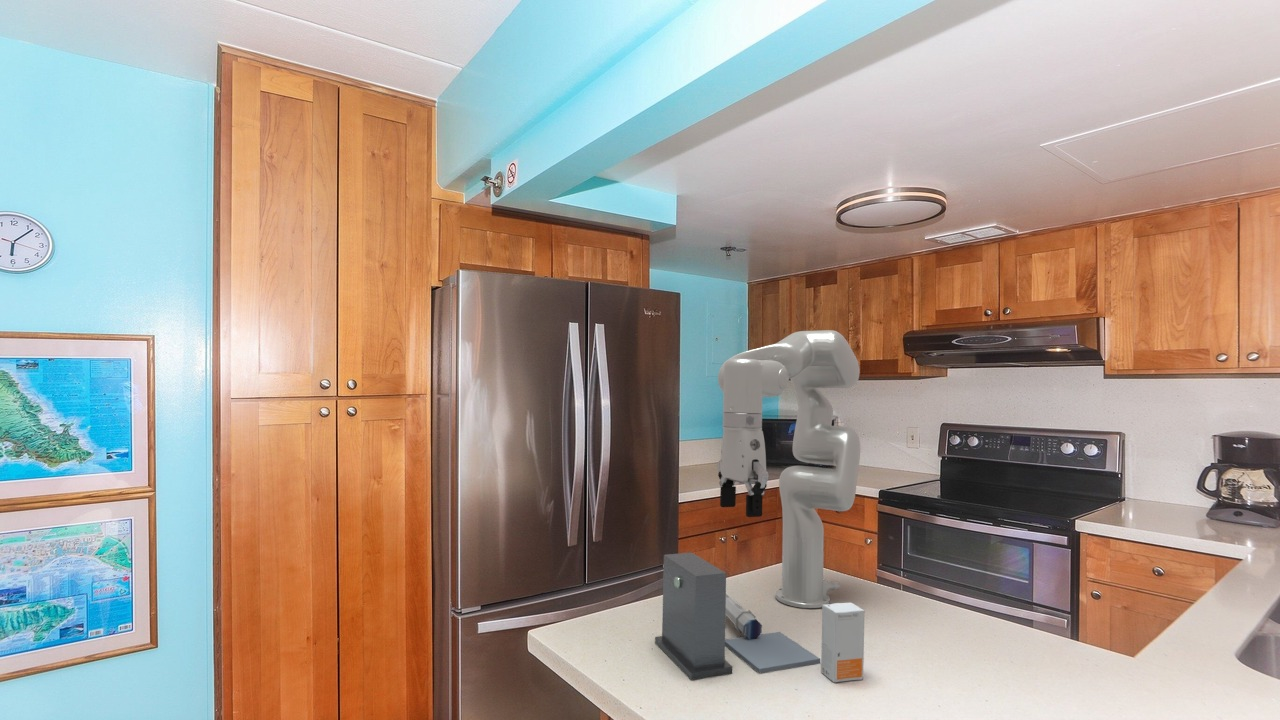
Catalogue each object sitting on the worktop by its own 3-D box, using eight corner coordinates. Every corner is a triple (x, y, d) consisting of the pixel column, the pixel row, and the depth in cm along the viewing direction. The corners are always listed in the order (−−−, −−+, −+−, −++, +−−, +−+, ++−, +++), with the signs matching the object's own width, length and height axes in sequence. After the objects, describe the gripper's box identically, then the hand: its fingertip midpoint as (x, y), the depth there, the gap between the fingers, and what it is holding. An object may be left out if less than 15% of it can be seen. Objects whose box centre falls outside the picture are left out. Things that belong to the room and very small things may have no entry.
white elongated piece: (742, 620, 119) (692, 570, 143) (740, 653, 120) (690, 597, 143) (766, 617, 121) (712, 568, 145) (763, 650, 121) (711, 595, 145)
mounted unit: (692, 637, 122) (693, 550, 123) (732, 673, 107) (734, 574, 108) (655, 643, 119) (657, 553, 120) (691, 680, 105) (693, 578, 105)
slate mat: (779, 635, 124) (779, 631, 124) (820, 663, 112) (820, 658, 112) (723, 644, 120) (723, 639, 120) (759, 673, 108) (759, 668, 108)
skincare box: (834, 684, 105) (834, 612, 105) (820, 672, 109) (821, 603, 109) (865, 680, 106) (865, 609, 107) (850, 669, 110) (850, 601, 111)
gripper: (784, 425, 112) (782, 519, 111) (736, 420, 128) (734, 502, 127) (748, 424, 109) (747, 521, 109) (704, 419, 126) (702, 504, 125)
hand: (740, 511), depth 118 cm, fingers open, 9 cm apart
